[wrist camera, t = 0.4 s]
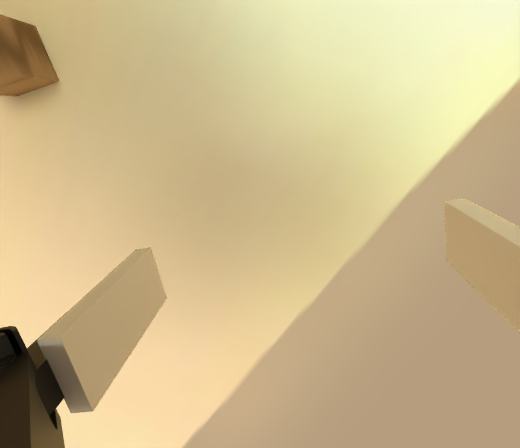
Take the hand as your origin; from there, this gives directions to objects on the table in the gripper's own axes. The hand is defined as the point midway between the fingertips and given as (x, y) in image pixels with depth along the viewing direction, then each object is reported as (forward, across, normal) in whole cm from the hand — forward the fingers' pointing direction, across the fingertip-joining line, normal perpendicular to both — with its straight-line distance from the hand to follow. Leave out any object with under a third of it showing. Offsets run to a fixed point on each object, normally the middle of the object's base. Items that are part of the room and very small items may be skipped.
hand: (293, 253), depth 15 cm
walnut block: (+28, -29, +17) cm, 44 cm away
